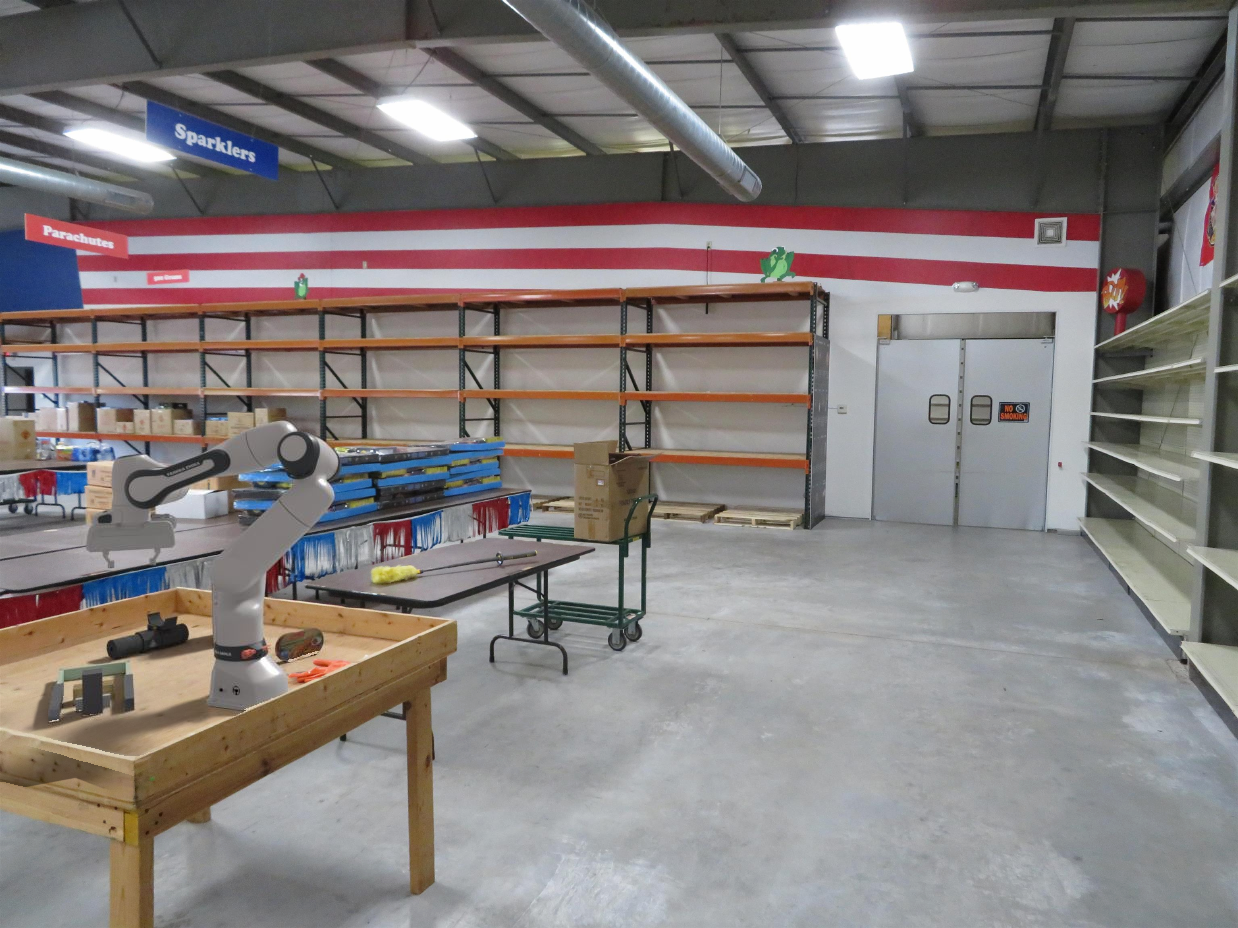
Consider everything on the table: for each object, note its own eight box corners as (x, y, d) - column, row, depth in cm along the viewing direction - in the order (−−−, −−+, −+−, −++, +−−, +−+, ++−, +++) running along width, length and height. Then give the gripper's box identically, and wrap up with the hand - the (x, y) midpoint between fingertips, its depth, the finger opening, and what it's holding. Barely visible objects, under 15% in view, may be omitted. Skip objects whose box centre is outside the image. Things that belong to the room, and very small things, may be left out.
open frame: (130, 685, 209) (130, 674, 209) (56, 695, 200) (56, 683, 200) (129, 670, 220) (129, 660, 220) (59, 680, 211) (59, 669, 211)
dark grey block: (110, 712, 191) (109, 671, 190) (75, 717, 187) (74, 676, 186) (110, 705, 195) (109, 665, 194) (76, 710, 191) (75, 669, 191)
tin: (279, 665, 228) (279, 636, 228) (273, 663, 230) (273, 634, 230) (324, 652, 241) (324, 625, 240) (318, 650, 243) (318, 624, 242)
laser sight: (102, 656, 232) (102, 623, 231) (177, 638, 252) (176, 607, 251) (121, 662, 227) (120, 628, 227) (195, 643, 247) (195, 612, 246)
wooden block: (92, 702, 197) (92, 686, 196) (73, 705, 194) (72, 689, 194) (93, 697, 200) (92, 682, 200) (73, 700, 198) (73, 684, 198)
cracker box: (214, 634, 257) (213, 570, 256) (234, 632, 259) (234, 569, 258) (211, 646, 244) (210, 579, 243) (232, 644, 247) (232, 578, 245)
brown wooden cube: (113, 699, 199) (113, 684, 199) (94, 702, 197) (94, 686, 197) (113, 694, 202) (113, 679, 202) (95, 697, 200) (94, 681, 200)
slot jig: (134, 709, 192) (134, 697, 192) (48, 722, 183) (48, 710, 183) (132, 684, 209) (132, 673, 209) (54, 695, 200) (54, 684, 200)
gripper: (175, 511, 217) (176, 561, 218) (86, 515, 206) (87, 567, 207) (177, 514, 212) (177, 565, 213) (85, 518, 201) (86, 571, 202)
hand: (132, 566), depth 210 cm, fingers open, 8 cm apart
